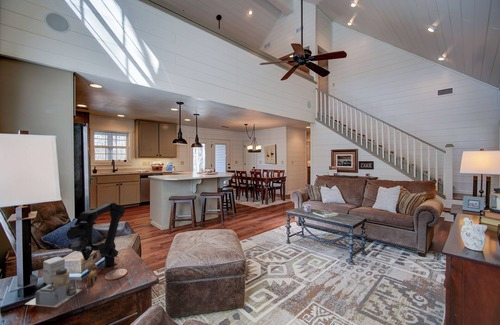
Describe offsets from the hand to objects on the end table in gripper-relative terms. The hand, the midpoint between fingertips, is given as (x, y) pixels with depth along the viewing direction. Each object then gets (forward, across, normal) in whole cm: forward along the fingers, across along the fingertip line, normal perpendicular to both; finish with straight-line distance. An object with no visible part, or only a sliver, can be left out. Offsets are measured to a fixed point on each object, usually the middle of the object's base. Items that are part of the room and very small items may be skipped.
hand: (86, 260), depth 128 cm
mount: (+12, -1, -17) cm, 21 cm away
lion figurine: (+12, +4, -1) cm, 13 cm away
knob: (+11, 0, -15) cm, 18 cm away
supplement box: (+12, -17, -3) cm, 21 cm away
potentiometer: (+11, +5, -14) cm, 18 cm away
